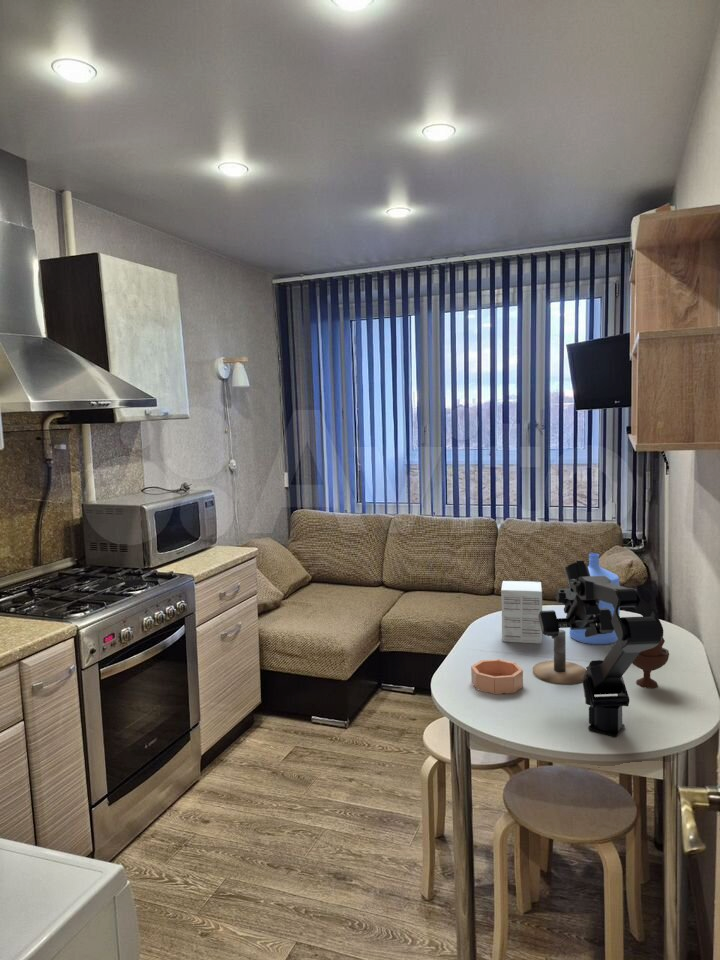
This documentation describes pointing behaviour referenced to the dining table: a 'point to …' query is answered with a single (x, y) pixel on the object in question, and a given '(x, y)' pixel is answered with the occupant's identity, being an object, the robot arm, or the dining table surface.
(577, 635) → the water jug
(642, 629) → the robot arm
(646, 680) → the ice cream bowl
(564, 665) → the walnut lid
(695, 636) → the dining table surface
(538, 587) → the supplement box
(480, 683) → the terracotta bowl
